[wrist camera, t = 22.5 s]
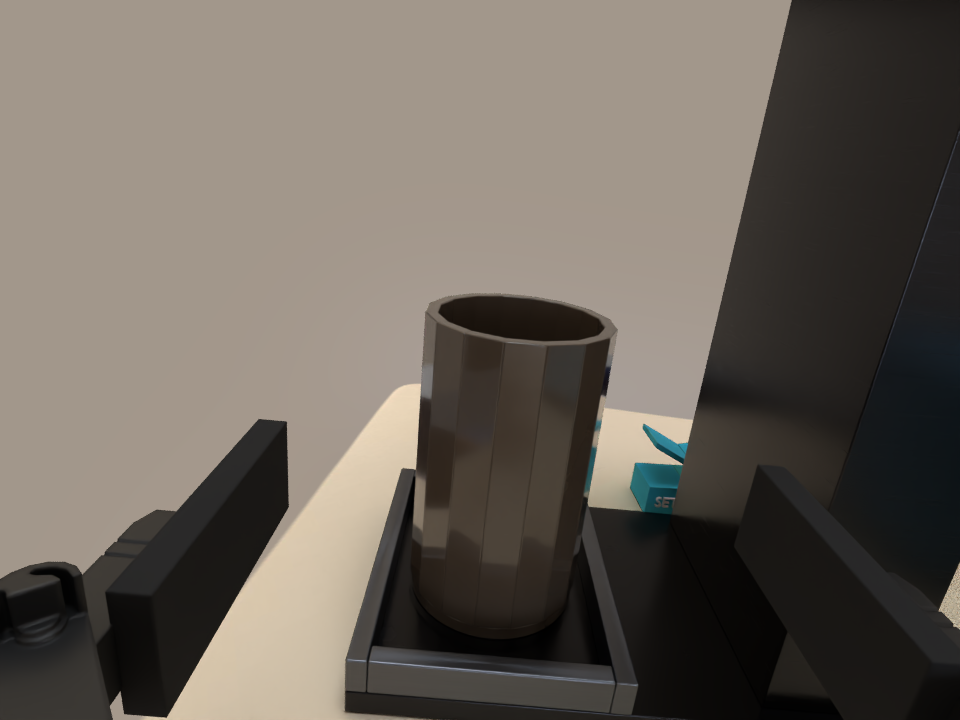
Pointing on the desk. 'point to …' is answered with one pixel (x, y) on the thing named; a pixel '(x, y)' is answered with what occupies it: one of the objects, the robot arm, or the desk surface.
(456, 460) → the cup
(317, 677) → the desk surface
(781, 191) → the coffee maker
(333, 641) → the desk surface
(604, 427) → the desk surface
